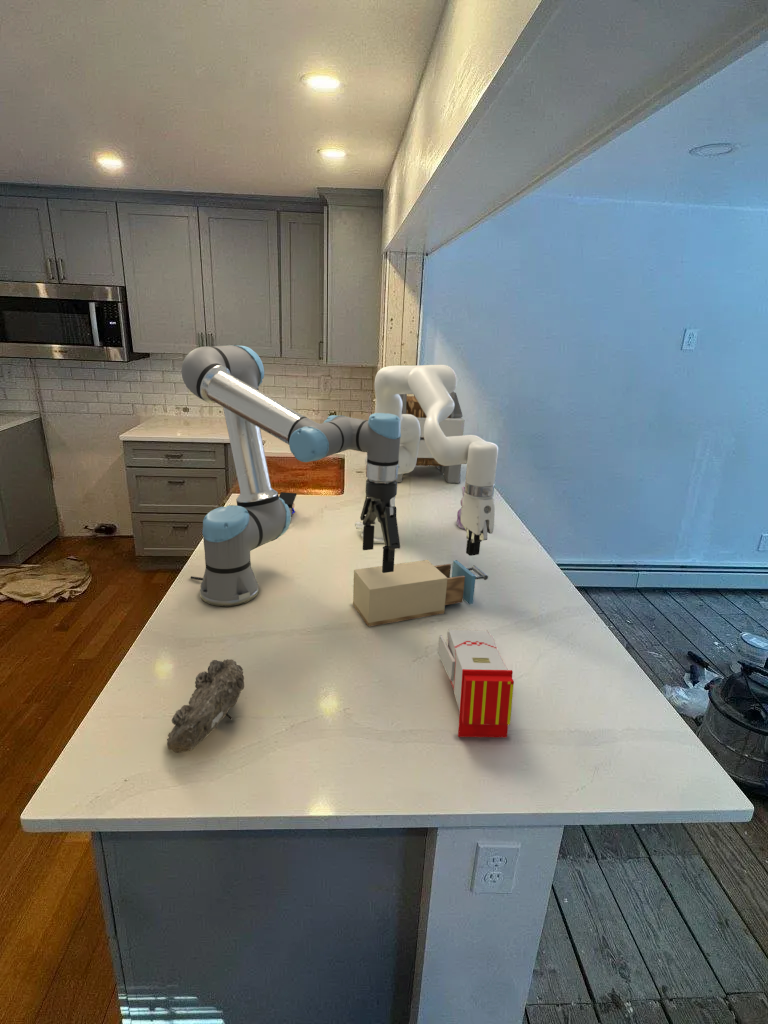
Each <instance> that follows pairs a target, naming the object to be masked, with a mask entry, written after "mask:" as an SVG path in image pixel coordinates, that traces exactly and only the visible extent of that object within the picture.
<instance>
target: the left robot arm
mask: <svg viewBox="0 0 768 1024" xmlns="http://www.w3.org/2000/svg"><path fill="white" fill-rule="evenodd" d="M180 371H181V378H182V381H183V383H184V385H185V386H186V388H187V389H188V391H190V392H191V393H192V394H193V395H194V396H196V397H197V398H199V399H201V400H202V401H203V402H206V403H208V404H217V405H219V406H221V407H222V409H223V414H224V418H225V424H226V428H227V433H228V439H229V444H230V449H231V454H232V459H233V464H234V468H235V473H236V478H237V483H238V488H239V495H238V496H237V498H236V499H235V500H236V501H235V502H236V504H235V505H233V504H231V505H226V506H219V507H216V508H214V509H212V510H210V511H209V512H207V513H206V515H204V518H203V519H202V530H201V532H202V538H203V539H202V540H203V549H204V563H205V565H204V566H205V570H204V573H203V577H199V576H190V579H191V580H196V581H201V583H200V589H199V593H200V595H199V596H200V599H201V600H202V601H203V602H204V603H206V604H208V605H211V606H215V607H234V606H239V605H243V604H246V603H248V602H251V601H252V600H254V599H255V598H256V597H257V596H258V594H259V582H258V580H257V577H256V575H255V572H254V570H253V568H252V563H251V551H253V550H255V549H257V548H259V547H261V546H263V545H265V544H268V543H270V542H273V541H275V540H277V539H279V538H280V537H282V536H283V535H284V534H285V533H287V531H288V530H289V528H290V525H291V521H292V517H291V514H290V510H289V507H288V505H287V504H285V501H284V500H283V499H281V498H279V492H278V491H277V490H275V489H274V488H273V486H272V483H271V479H270V473H269V467H268V461H267V457H266V452H265V447H264V442H263V436H262V431H263V432H265V433H267V434H269V435H271V436H272V437H274V438H276V439H278V440H280V441H281V442H283V443H285V444H286V445H288V446H289V450H290V453H291V454H292V455H293V457H294V458H295V459H296V460H297V461H299V462H302V463H310V462H317V461H319V460H322V459H325V458H327V457H330V456H333V455H336V454H340V453H342V452H345V451H348V450H350V451H356V452H360V453H361V452H362V453H366V455H367V466H366V465H365V478H366V479H365V480H366V481H365V499H364V503H363V507H362V510H361V513H360V517H359V519H360V522H362V523H363V525H364V529H363V530H362V531H363V538H362V551H371V550H374V544H375V543H374V525H372V524H375V519H376V518H377V519H378V522H380V524H381V529H382V533H383V538H384V543H383V544H384V546H382V565H381V566H382V572H383V573H387V572H394V564H395V556H396V555H395V554H396V550H398V549H400V548H401V542H400V536H399V527H398V519H397V506H396V505H395V506H394V507H391V504H390V500H391V499H392V498H393V497H395V498H396V496H397V493H398V482H397V481H396V479H397V478H398V469H399V467H400V466H399V465H398V462H399V447H400V438H401V420H400V418H399V417H398V416H397V415H394V414H389V413H375V412H374V413H371V414H370V415H368V416H369V417H368V420H367V419H362V418H356V417H349V416H345V415H335V414H332V415H328V416H327V418H326V419H324V421H323V422H321V423H319V422H317V421H315V420H313V419H311V418H309V417H307V416H305V415H304V414H301V413H300V412H298V411H296V410H295V409H293V408H291V407H290V406H287V405H285V404H284V403H282V402H280V401H278V400H276V399H275V398H274V397H272V396H270V395H268V394H266V393H265V392H262V391H261V390H259V387H260V386H261V385H262V383H263V380H264V378H265V368H264V364H263V360H262V359H261V358H260V356H259V354H258V353H257V352H256V351H254V350H253V349H252V348H251V347H248V346H246V345H237V344H230V345H217V346H215V345H214V346H213V345H212V346H200V347H199V346H198V347H196V348H194V349H193V350H191V351H189V352H188V353H187V355H185V357H184V358H183V361H182V364H181V370H180ZM261 430H262V431H261ZM367 478H368V479H367ZM371 525H372V526H371Z"/></svg>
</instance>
